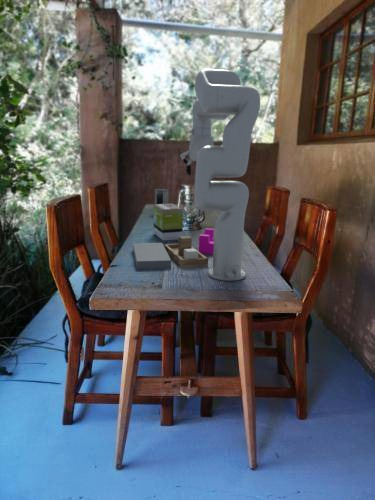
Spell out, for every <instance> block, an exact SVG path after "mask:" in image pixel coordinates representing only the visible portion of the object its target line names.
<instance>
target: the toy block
mask: <svg viewBox="0 0 375 500" xmlns="http://www.w3.org/2000/svg"><path fill="white" fill-rule="evenodd" d="M214 229H215V228H206V227H205V228H204V234H203V233H202V234H199V235H198V251H199V252H200V253H201V254H209V255H213V252H214Z"/></svg>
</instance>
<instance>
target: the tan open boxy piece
mask: <svg viewBox="0 0 375 500" xmlns="http://www.w3.org/2000/svg"><path fill="white" fill-rule="evenodd" d="M192 240H193V239H192V237H191V236H190V235H182V236H179V238H178V243H164V244H163V245H164V247H165V249H166V251H167V253H168V255H169V257H170V259H172V260H173V261H174V263H175V264H177V265H178V266H179V267H180V268H181V269H185V268H186V269H187V268H200V267H208V266H209V258H208V257H207V256H205V255H204V253H200V252H199V250H197V251H198V259H184V249H193V248H194V249H196V248H195V247H194V246H192V245H193V244H192V242H193V241H192Z"/></svg>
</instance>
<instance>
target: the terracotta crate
mask: <svg viewBox="0 0 375 500" xmlns="http://www.w3.org/2000/svg"><path fill="white" fill-rule="evenodd" d="M81 347H82V350H81V353H80V356H81V357H80V361H79V362H84V357H85V349H84V348H85V347H84V346H81Z"/></svg>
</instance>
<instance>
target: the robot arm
mask: <svg viewBox="0 0 375 500" xmlns="http://www.w3.org/2000/svg"><path fill="white" fill-rule="evenodd" d="M194 92H195V95H196V98H197V99H195V100H194V102H193V104H192V114H193V115H192V129H189V130H188V133H189V134H191V135H192V136H190V139H189V145H188V146H189V147H188V150H187V151H184V152H183V153H181V154H180V155H179V156H180V158H181V160H182V162H183V163H184V164H185V165H186V174H187V175H188V176H191V174H192V170H191V169H192V166H191V164H192V163H193V162H196V163H195V175H194V176H195V177H194V188H193V189H194V190H193V191H194V193H193V203H194V206H195V208H196V209H197V210H199V211H203V212H205V211H206V212H207V211H208V212H211V211H212V212H221V213H220V214H219V216H218V217H217V218H216V220H215V223H214V228H213V229H214V252H213V254H212V256H213V257H212V267H211V268H209V269H208V270H207V275H208V276H209V277H210V278H212V279H215V280H219V281H226V282H227V281H228V282H233V281H240V280H243V279H244V278H245V277H246V272H245V271H244V270H243V269H242V259H243V257H242V256H243V242H244V228H245V227H244V226H245V217H246V210H247V206H248V202H249V197H250V192H249V191H250V190H249V188H248V186H247V185H246V183H244V182H242V181H238V180H213V179H214V178H241V177H243V176H245V174H246V172H247V170H248V165H249V158H250V151H251V150H250V149H251V141H252V135H253V130H254V128H255V125H256V121H257V119H258V117H259V114H260V111H261V110H260V109H261V96H260V93H259V91H258V90H257V89H255V87H251V86H247V85H246V86H245V85H242V84H241V78H240V75H238V74H237V73H236V72H235V71H232V70H229V69H212V68H203V69H201V70H200V71H199V72H198V73H197V74H196V76H195V80H194ZM232 115H233V116H232ZM230 116H232V117H231V118H230V120H229V121H228V122H227V124H225V126H224V127H223V132H222V133H223V134H222V142H221V145H214V144H215V143H214V137H213V136H212V120H217V121H218V120H219V121H220V120H222V121H223V120H226V119H227V118H229V117H230ZM187 155H188V160H187V159H186V156H187Z"/></svg>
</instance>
